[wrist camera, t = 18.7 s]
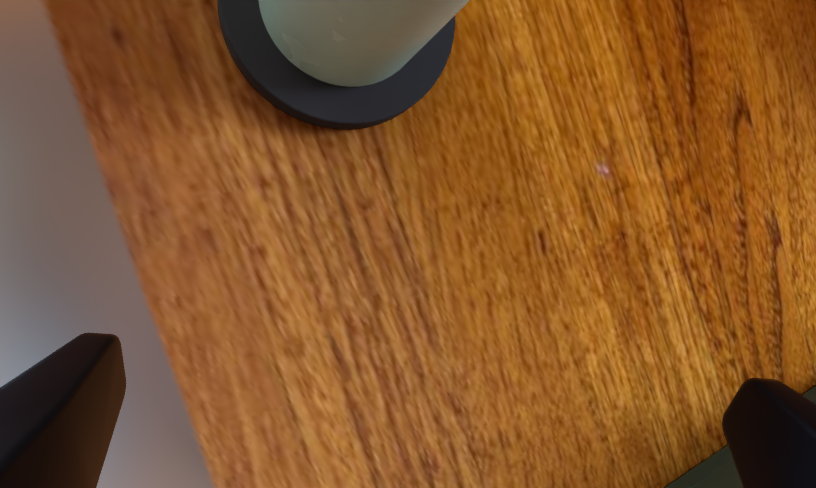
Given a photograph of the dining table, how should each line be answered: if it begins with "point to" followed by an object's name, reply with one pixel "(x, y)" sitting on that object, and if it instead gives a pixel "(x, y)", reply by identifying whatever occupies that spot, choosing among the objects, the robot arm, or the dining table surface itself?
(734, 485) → the box
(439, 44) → the rubber mat
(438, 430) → the dining table surface
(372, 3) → the pale green cylinder
